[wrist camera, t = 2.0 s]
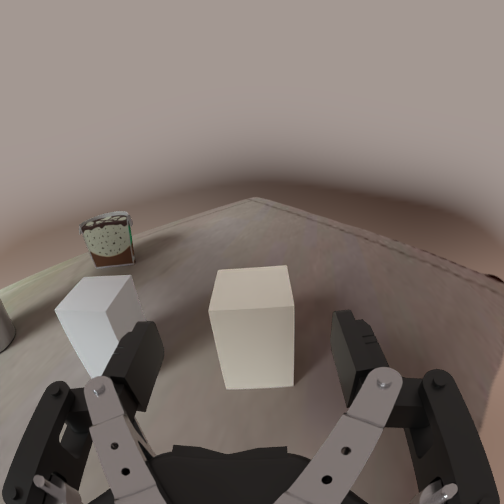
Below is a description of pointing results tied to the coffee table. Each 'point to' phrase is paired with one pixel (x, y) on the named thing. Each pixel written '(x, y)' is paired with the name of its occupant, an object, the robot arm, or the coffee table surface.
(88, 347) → the cover
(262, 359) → the cover
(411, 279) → the coffee table surface
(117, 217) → the food container
